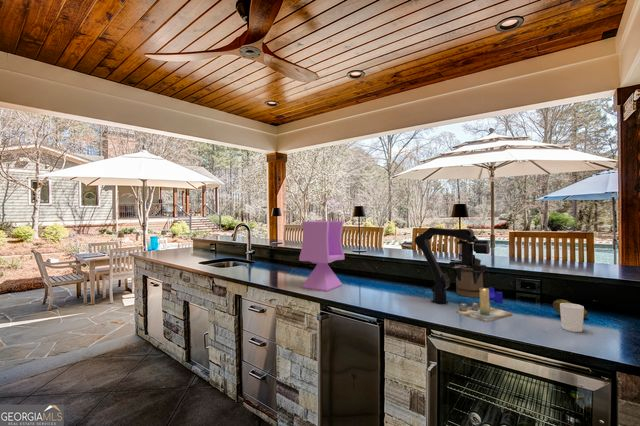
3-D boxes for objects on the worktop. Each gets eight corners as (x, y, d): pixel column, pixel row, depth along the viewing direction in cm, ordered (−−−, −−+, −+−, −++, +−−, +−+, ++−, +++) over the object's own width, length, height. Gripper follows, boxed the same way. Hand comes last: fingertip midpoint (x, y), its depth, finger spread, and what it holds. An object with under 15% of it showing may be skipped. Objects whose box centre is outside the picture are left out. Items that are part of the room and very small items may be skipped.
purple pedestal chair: (327, 292, 197) (327, 221, 197) (299, 288, 209) (299, 221, 210) (344, 285, 216) (344, 221, 216) (317, 282, 228) (317, 220, 228)
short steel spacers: (458, 310, 155) (458, 303, 155) (481, 305, 163) (481, 298, 163) (473, 314, 148) (473, 307, 148) (496, 309, 156) (496, 302, 156)
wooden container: (484, 293, 193) (483, 257, 193) (481, 298, 180) (481, 260, 180) (458, 290, 201) (458, 256, 201) (454, 295, 188) (453, 259, 188)
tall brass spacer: (478, 313, 148) (477, 287, 148) (486, 312, 149) (485, 287, 149) (483, 315, 144) (482, 289, 144) (491, 315, 145) (490, 289, 145)
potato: (589, 322, 139) (588, 304, 139) (553, 317, 147) (552, 300, 147) (587, 317, 146) (587, 300, 146) (553, 312, 153) (552, 296, 153)
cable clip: (485, 297, 183) (485, 287, 183) (493, 298, 182) (493, 287, 182) (493, 303, 171) (493, 292, 171) (502, 303, 170) (502, 292, 170)
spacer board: (455, 312, 155) (455, 310, 155) (481, 306, 164) (481, 304, 164) (486, 322, 140) (486, 319, 140) (512, 315, 150) (512, 313, 150)
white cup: (555, 326, 135) (555, 303, 135) (572, 325, 135) (571, 302, 135) (571, 333, 127) (571, 308, 127) (589, 332, 127) (589, 307, 128)
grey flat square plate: (471, 314, 148) (471, 313, 148) (482, 312, 152) (482, 310, 152) (487, 319, 141) (487, 318, 141) (498, 316, 145) (498, 315, 145)
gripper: (493, 253, 159) (494, 284, 159) (461, 250, 176) (462, 278, 175) (479, 255, 154) (480, 286, 154) (448, 251, 170) (448, 279, 170)
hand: (467, 282), depth 163 cm, fingers open, 9 cm apart
